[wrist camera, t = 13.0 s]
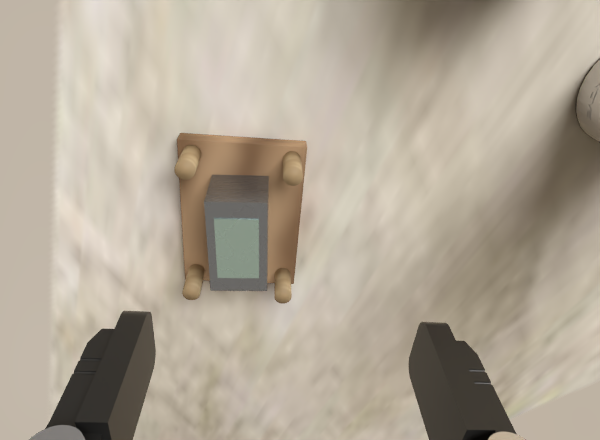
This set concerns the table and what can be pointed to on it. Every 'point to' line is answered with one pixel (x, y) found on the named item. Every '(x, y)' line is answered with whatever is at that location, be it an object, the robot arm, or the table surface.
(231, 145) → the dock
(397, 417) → the table surface
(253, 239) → the grey rectangular block
